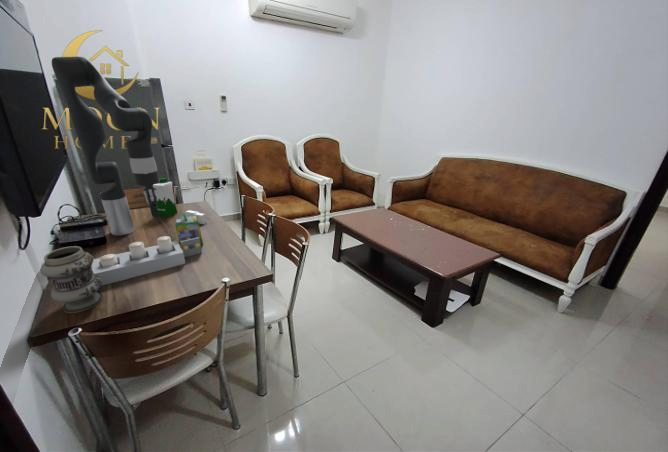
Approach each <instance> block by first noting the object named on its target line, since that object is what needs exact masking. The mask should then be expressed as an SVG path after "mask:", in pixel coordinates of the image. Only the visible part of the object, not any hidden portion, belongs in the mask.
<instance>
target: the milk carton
mask: <svg viewBox="0 0 668 452" xmlns="http://www.w3.org/2000/svg"><path fill="white" fill-rule="evenodd" d="M159 180H160V182H159V183H157V184H154V185H153V187H155V189H156V191H157V194H156V195H157V199H158V201H157V205H158V207H157V208H158V213H159V217H161V218H163V217H164V218H170V217H173V216H174V215H177V214H178V209H177V206H176V202H175V195H174V192H173V181H169V180H168V178H167V177H159Z"/></svg>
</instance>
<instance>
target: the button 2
mask: <svg viewBox="0 0 668 452" xmlns="http://www.w3.org/2000/svg"><path fill="white" fill-rule="evenodd" d="M128 248H129V249H128V250H129V251H130V253H131V256H132V259H141V258H144V257H145V256H146V251H145V248H146V247H145V244H144V242H143V241H134V242H131V243H130V244H128Z"/></svg>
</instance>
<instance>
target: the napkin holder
mask: <svg viewBox="0 0 668 452" xmlns="http://www.w3.org/2000/svg"><path fill="white" fill-rule="evenodd" d="M185 215H186V216H194V215H197V216H198V221H199V223H200V224H199V225H205V224H206V223H207V218H206V213H202V212H200V211H195V210H190V209H188V210H186V211H185Z"/></svg>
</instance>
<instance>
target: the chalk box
mask: <svg viewBox="0 0 668 452" xmlns="http://www.w3.org/2000/svg"><path fill="white" fill-rule="evenodd" d="M181 212H182V215H183V216H179V217H175V224H174V225H175V229H176V233H177V236H178V243H179V245H180V247H181V242H180V241H184V240H189V239H193V238H198V237H199V238H200V244H201V246H203V245H204V242H203V237H202V236H203V235H202V232H201V228H200V224H199V221H198V216H197V215H194V216H186V212H184V211H181ZM181 249H182V247H181Z"/></svg>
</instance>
